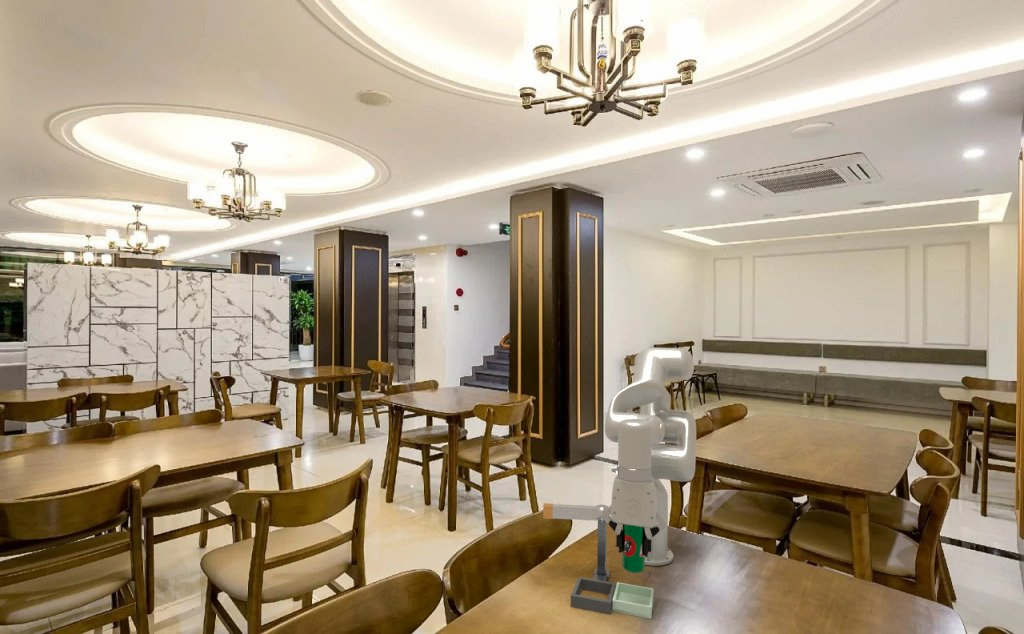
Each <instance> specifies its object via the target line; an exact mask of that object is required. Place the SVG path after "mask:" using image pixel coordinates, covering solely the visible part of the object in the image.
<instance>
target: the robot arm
mask: <svg viewBox="0 0 1024 634" xmlns="http://www.w3.org/2000/svg"><path fill="white" fill-rule="evenodd" d="M694 370H695V362H694V357H693V356H692V353H690V352H689V351H688V350H686V349H684V348H678V347H647V348H643V349H642V350H641V351H640V352H638V353H637V354H636V355H635V358H634V372H633V377H632V381H631V383H630V384H628V385H626V386H624V387H623V388H622V389H621V390H620V391H618V392H617V393H616V394H615V395H613V397H612V399H611V400H610V402H609V404H608V409H607V413H606V417H605V420H604V421H605V422H604V433H605V437H606V438H607V439H608V440H609V441H611V442H612V443H618V444H617V453H618V454H617V464H616V465H612V466H611V472H612V473H614V474H615V473H616V476H615V477H614V480H613V484H612V491H611V504H610V505H609V506H608V507H609V508H608V509H607V510H606V511H605V512H604V513H603V515H602V518H603V519H604V520H605V521H606V522H607V524H608V525H609V527H610V529H612V531H614V534H615V537H616V539H615V542H616V543H615V544H616V545H615V547H616V548H618V553H623V525H632V526H637V527H644V529H645V540H644V556H645V566H652V567H653V566H654V567H655V566H656V567H657V566H658V567H659V566H660V567H661V566H666V565H669V564H671V563H672V562H673V560H674V553H673V552H672V550H671V549H669V547H668V543H669V541H668V538H669V537H668V536H669V535H668V532H669V531H668V530H669V529H668V528H669V527H668V524H669V522H668V521H669V519H668V517H669V512H668V511H669V505H668V504H669V496H668V492H667V490H666V488H665V486H664V484H663V483H662V481H661V480H666V481H667V480H668V481H675V482H690V481H691V480H693V478H694V476H695V472H696V460H697V459H696V458H697V457H696V455H697V454H696V453H697V423H696V419H695V417H694V415H693V414H692V413H691V412H689V411H686V410H680V409H671V405H672V403H671V401H672V397H671V394H670V393H669V391H668V389H666V388H667V387H665V384H666V380H678V381H679V380H680V381H688V380H690V379H691V378H692V376H693V374H694ZM639 407H640V411H639V413H634V412H633V413H632V412H627V411H629V410H632V409H635V408H639Z"/></svg>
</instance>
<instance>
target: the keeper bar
mask: <svg viewBox="0 0 1024 634" xmlns="http://www.w3.org/2000/svg"><path fill="white" fill-rule="evenodd" d="M542 506H543V507H542V509H543V510H542V512H543V513H542V516H543V517H542V518H543V519H551V520H552V519H556V520H558V519H559V520H561V519H562V520H576V521H577V520H578V521H579V520H580V521H595V522H596V521H597V522H598V521H600V522H606V521H605V520H604V519H603V518H602V515H603V513H604V512H605V511H606V510H607V509H608V508H609V507H610V506H608V505H606V504H597V505H581V504H564V503H563V504H561V503H549V502H548V503H546V502H544V503H543V505H542Z"/></svg>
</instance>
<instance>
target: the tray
mask: <svg viewBox="0 0 1024 634" xmlns="http://www.w3.org/2000/svg"><path fill="white" fill-rule="evenodd" d="M654 593H655V592H654V587H647V586H642V585H636V584H630V583H625V582H619V581H617V582H616V589H615V593H614V596H613V603H612V611H611V612H614V613H618V614H625V615H630V616H634V617H639V618H644V619H649V620H651V619H652V617H653V610H654V609H653V608H654V607H653V606H654V598H655V597H654Z"/></svg>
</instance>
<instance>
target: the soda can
mask: <svg viewBox="0 0 1024 634" xmlns="http://www.w3.org/2000/svg"><path fill="white" fill-rule="evenodd" d="M622 531H623V551H622V557H621V558H622V561H621V562H622V563H621V564H622V568H623V569H624V570H625V571H626V572H628V573H632V574H640V573H642V572H644V570H645V569H646V565H645V556H644V540H645V529H644V527H637V526H632V525H623V526H622Z"/></svg>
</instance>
